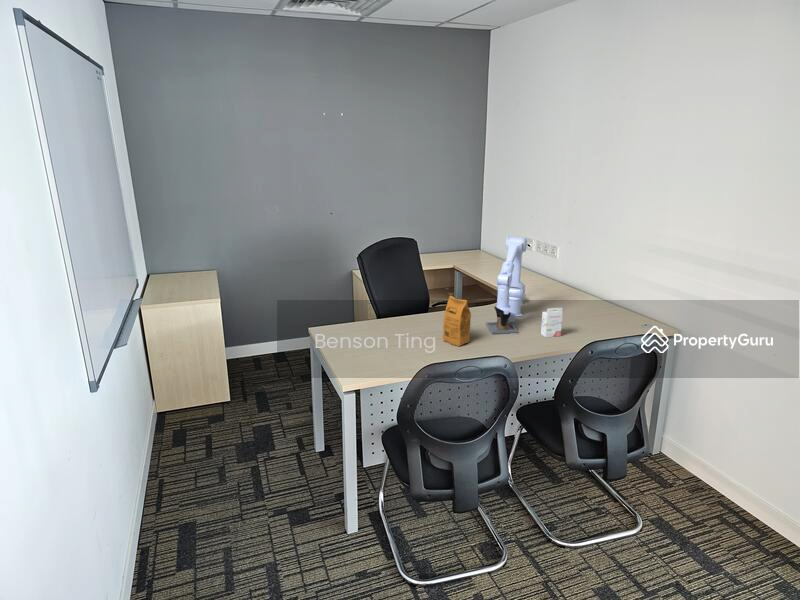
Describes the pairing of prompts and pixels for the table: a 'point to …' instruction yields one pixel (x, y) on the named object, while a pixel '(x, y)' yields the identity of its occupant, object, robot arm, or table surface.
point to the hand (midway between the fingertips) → (501, 323)
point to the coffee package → (456, 322)
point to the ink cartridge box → (552, 322)
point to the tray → (494, 330)
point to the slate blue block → (511, 317)
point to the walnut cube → (501, 325)
